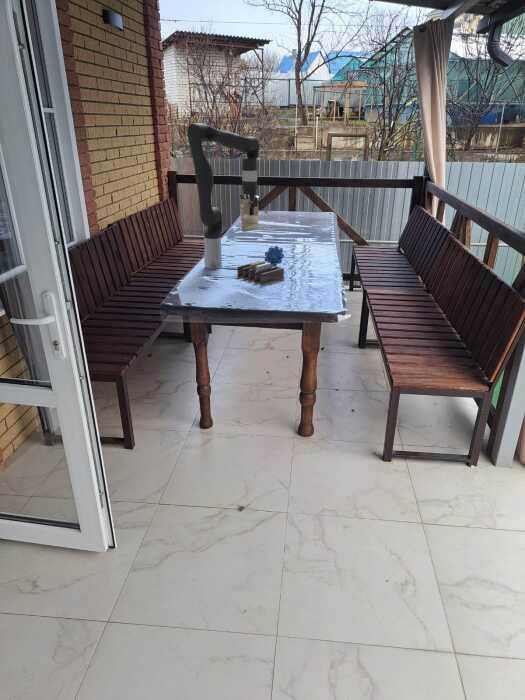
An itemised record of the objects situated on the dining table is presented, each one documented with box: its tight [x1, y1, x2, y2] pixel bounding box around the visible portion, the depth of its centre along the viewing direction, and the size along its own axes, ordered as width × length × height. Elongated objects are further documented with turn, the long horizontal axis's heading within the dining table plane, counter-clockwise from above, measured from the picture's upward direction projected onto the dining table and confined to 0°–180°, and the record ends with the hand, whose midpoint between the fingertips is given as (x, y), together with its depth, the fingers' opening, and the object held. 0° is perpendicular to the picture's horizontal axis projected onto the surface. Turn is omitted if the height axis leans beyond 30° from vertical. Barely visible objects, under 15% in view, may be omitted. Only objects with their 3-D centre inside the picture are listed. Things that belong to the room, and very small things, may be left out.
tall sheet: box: [240, 199, 259, 233], centre depth 253 cm, size 2×10×16 cm, turn 133°
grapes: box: [263, 245, 285, 267], centre depth 279 cm, size 12×7×12 cm, turn 75°
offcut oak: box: [249, 260, 266, 270], centre depth 259 cm, size 2×9×7 cm, turn 133°
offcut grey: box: [256, 262, 271, 272], centre depth 256 cm, size 2×9×7 cm, turn 133°
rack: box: [234, 260, 287, 286], centre depth 258 cm, size 22×18×6 cm
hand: (250, 214), depth 253 cm, fingers closed on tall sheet, 2 cm apart
